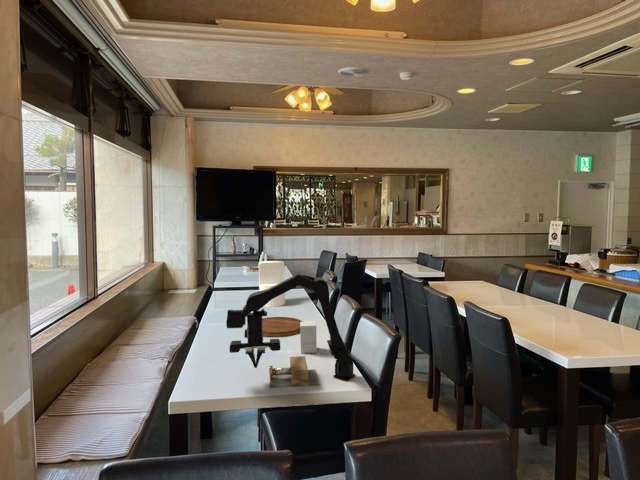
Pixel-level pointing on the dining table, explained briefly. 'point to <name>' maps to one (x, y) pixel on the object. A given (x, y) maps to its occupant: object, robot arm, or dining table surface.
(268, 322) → the cutting board
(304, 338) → the supplement box
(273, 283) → the cylinder
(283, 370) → the pin
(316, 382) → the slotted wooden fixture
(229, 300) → the dining table surface
